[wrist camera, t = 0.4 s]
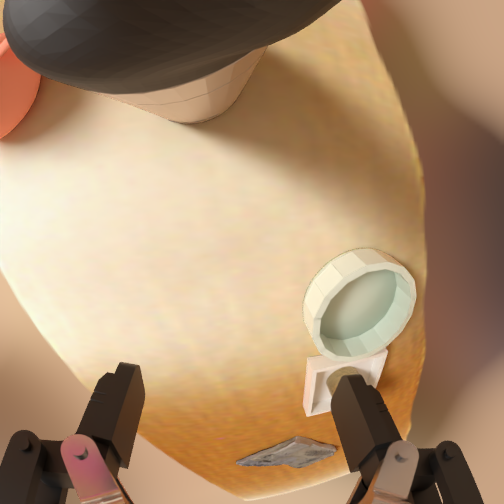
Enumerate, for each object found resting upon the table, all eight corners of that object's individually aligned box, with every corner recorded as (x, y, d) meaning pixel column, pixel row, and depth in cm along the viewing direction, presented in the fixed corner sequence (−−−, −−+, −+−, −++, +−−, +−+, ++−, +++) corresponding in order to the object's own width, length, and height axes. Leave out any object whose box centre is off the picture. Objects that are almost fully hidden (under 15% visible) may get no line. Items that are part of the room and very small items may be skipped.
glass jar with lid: (327, 370, 36) (348, 416, 28) (360, 362, 36) (384, 404, 29) (324, 392, 38) (341, 435, 30) (354, 384, 38) (374, 424, 31)
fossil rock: (338, 443, 49) (341, 451, 47) (289, 469, 53) (291, 477, 50) (288, 430, 43) (290, 441, 41) (234, 459, 46) (235, 468, 44)
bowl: (303, 255, 29) (316, 272, 25) (405, 242, 30) (425, 255, 26) (300, 349, 34) (309, 371, 30) (388, 329, 35) (402, 346, 32)
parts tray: (307, 357, 35) (312, 370, 33) (380, 340, 36) (388, 351, 34) (302, 404, 39) (306, 416, 37) (365, 388, 40) (371, 399, 38)
